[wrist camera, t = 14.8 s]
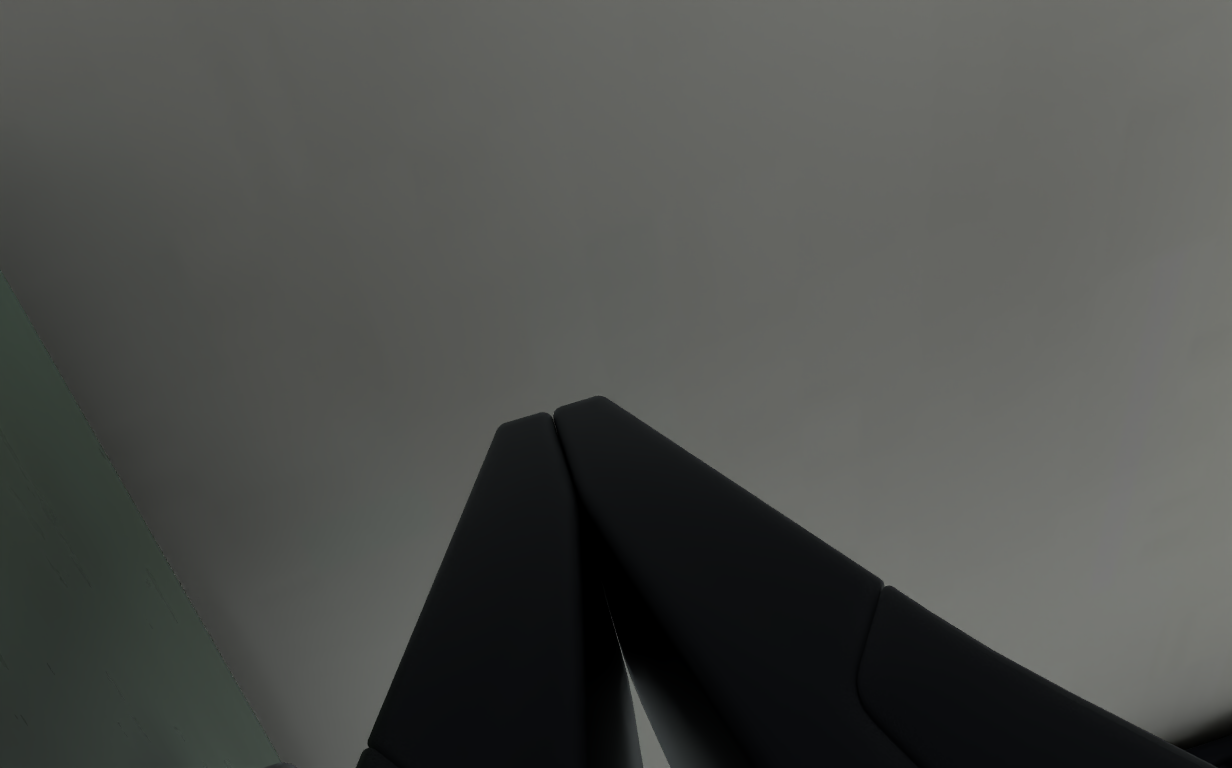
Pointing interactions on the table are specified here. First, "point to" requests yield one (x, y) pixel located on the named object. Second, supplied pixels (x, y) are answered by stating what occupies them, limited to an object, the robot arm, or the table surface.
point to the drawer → (95, 601)
